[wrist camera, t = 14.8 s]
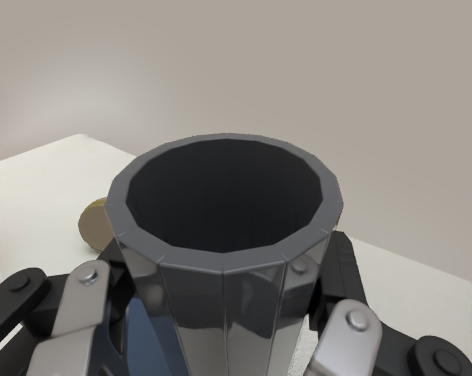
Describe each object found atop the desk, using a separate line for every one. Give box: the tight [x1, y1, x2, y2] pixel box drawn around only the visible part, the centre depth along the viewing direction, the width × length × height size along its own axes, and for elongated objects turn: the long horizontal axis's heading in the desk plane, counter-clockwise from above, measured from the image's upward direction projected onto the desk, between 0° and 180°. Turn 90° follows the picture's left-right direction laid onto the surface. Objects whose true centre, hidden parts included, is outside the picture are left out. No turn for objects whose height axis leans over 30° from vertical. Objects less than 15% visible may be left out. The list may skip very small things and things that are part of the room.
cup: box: [104, 133, 344, 376], centre depth 10 cm, size 6×6×10 cm
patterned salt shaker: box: [78, 197, 115, 251], centre depth 34 cm, size 8×10×10 cm
